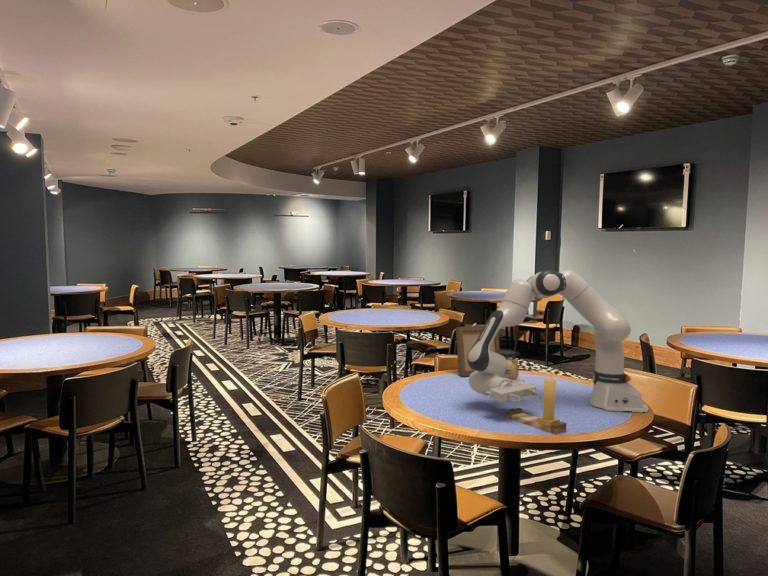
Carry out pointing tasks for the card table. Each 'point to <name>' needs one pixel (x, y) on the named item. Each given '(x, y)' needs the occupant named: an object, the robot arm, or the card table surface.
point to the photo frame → (469, 346)
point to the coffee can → (507, 354)
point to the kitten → (512, 369)
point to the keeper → (548, 404)
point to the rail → (535, 421)
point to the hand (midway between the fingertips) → (529, 397)
